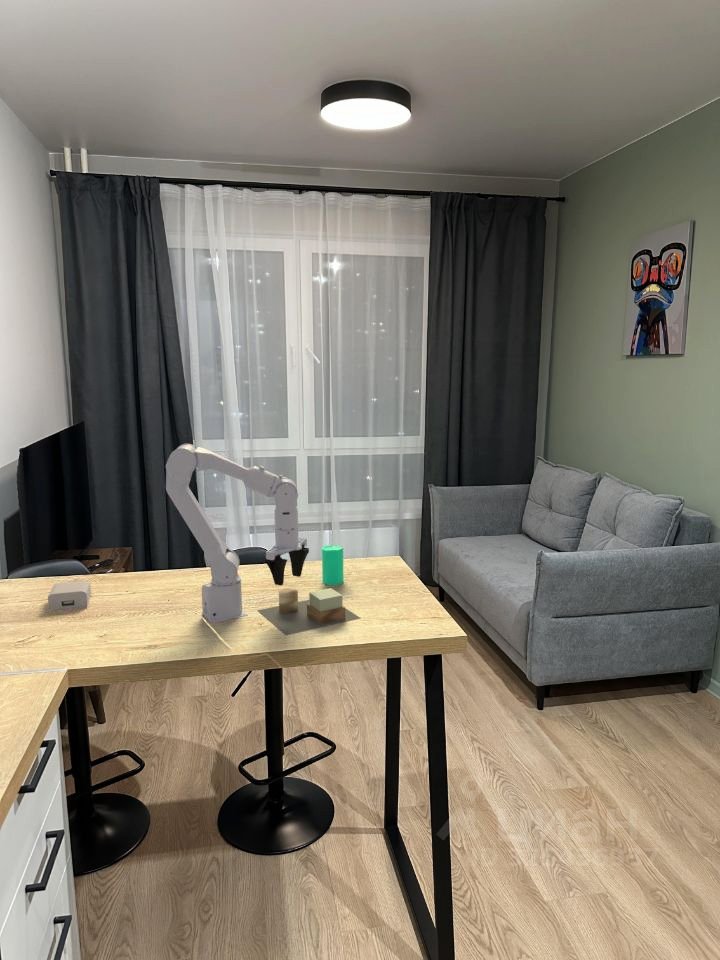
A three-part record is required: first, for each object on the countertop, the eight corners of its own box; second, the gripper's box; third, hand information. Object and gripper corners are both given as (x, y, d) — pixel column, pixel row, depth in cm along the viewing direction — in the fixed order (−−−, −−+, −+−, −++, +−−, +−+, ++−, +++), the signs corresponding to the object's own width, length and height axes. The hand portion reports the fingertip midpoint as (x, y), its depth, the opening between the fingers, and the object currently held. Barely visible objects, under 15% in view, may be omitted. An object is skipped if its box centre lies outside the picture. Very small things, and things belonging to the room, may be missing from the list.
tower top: (320, 611, 159) (320, 599, 158) (309, 603, 164) (309, 592, 163) (342, 607, 162) (342, 595, 161) (331, 599, 167) (330, 588, 166)
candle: (343, 586, 187) (342, 545, 185) (321, 586, 187) (321, 545, 185) (343, 579, 193) (343, 539, 191) (323, 579, 193) (322, 539, 191)
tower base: (319, 624, 159) (319, 612, 158) (307, 615, 165) (306, 603, 164) (345, 618, 162) (345, 607, 162) (332, 609, 168) (331, 598, 168)
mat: (285, 637, 153) (285, 635, 153) (256, 612, 168) (256, 610, 168) (360, 620, 163) (360, 618, 163) (327, 597, 178) (327, 596, 178)
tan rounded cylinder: (283, 615, 165) (283, 595, 164) (276, 608, 169) (275, 590, 168) (301, 611, 167) (300, 592, 166) (293, 605, 171) (293, 586, 170)
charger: (93, 589, 187) (87, 608, 172) (58, 592, 184) (49, 612, 170) (92, 573, 186) (86, 590, 172) (56, 576, 183) (47, 594, 169)
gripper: (282, 536, 156) (283, 591, 159) (316, 523, 169) (317, 574, 171) (258, 532, 160) (260, 586, 162) (293, 520, 172) (294, 570, 174)
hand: (288, 580), depth 167 cm, fingers open, 7 cm apart
